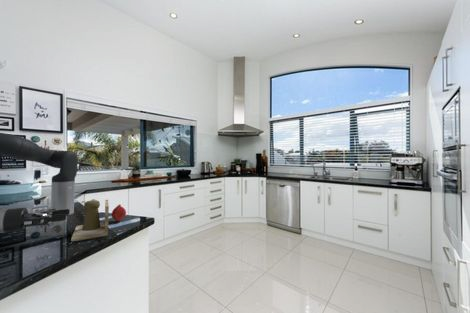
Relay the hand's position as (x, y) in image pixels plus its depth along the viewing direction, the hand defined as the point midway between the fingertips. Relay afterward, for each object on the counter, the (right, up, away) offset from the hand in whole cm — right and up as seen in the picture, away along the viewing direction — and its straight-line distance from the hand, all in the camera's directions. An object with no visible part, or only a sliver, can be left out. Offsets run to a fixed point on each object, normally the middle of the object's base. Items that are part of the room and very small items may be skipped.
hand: (67, 214), depth 77 cm
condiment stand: (+6, -8, +4) cm, 11 cm away
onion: (+9, -9, +18) cm, 22 cm away
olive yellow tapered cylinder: (+6, -7, +4) cm, 10 cm away
